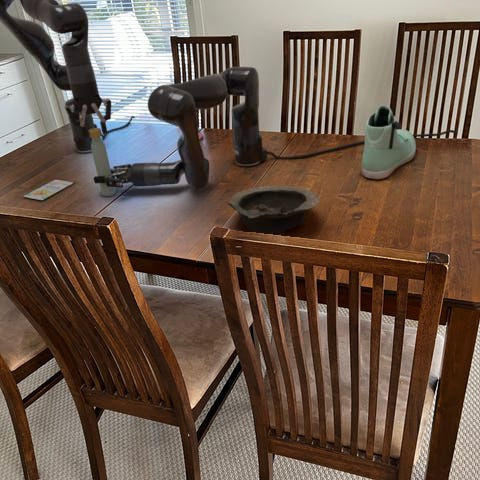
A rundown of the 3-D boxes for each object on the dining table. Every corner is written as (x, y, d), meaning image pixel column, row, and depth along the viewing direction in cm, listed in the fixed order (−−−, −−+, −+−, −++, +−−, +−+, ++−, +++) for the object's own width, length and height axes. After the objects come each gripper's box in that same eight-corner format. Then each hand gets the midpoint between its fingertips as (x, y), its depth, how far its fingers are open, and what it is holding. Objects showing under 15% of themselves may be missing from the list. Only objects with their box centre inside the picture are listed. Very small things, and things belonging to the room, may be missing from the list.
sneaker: (420, 146, 175) (428, 89, 165) (399, 183, 150) (406, 120, 139) (383, 142, 181) (388, 87, 171) (356, 177, 156) (360, 116, 145)
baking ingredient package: (22, 195, 161) (55, 178, 172) (23, 197, 161) (55, 180, 172) (41, 199, 157) (74, 182, 169) (42, 200, 157) (74, 183, 169)
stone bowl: (258, 254, 121) (254, 221, 116) (217, 221, 141) (212, 192, 137) (338, 225, 129) (337, 193, 125) (288, 198, 150) (286, 170, 145)
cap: (86, 136, 149) (85, 131, 148) (95, 132, 152) (94, 127, 151) (95, 138, 147) (93, 132, 146) (104, 134, 150) (103, 128, 149)
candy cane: (171, 147, 193) (170, 143, 192) (194, 135, 203) (194, 131, 202) (182, 149, 190) (182, 145, 189) (206, 137, 200) (205, 133, 199)
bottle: (107, 189, 162) (93, 129, 151) (118, 191, 161) (104, 130, 150) (99, 195, 159) (84, 134, 148) (110, 196, 157) (96, 135, 146)
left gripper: (58, 86, 135) (73, 143, 144) (109, 78, 140) (120, 134, 149) (55, 81, 141) (70, 136, 150) (104, 73, 146) (115, 128, 154)
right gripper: (150, 155, 159) (100, 157, 161) (141, 172, 147) (86, 175, 149) (154, 176, 163) (105, 178, 165) (145, 194, 151) (92, 196, 153)
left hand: (95, 135), depth 149 cm, fingers open, 5 cm apart
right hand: (96, 176), depth 157 cm, fingers closed on bottle, 4 cm apart
